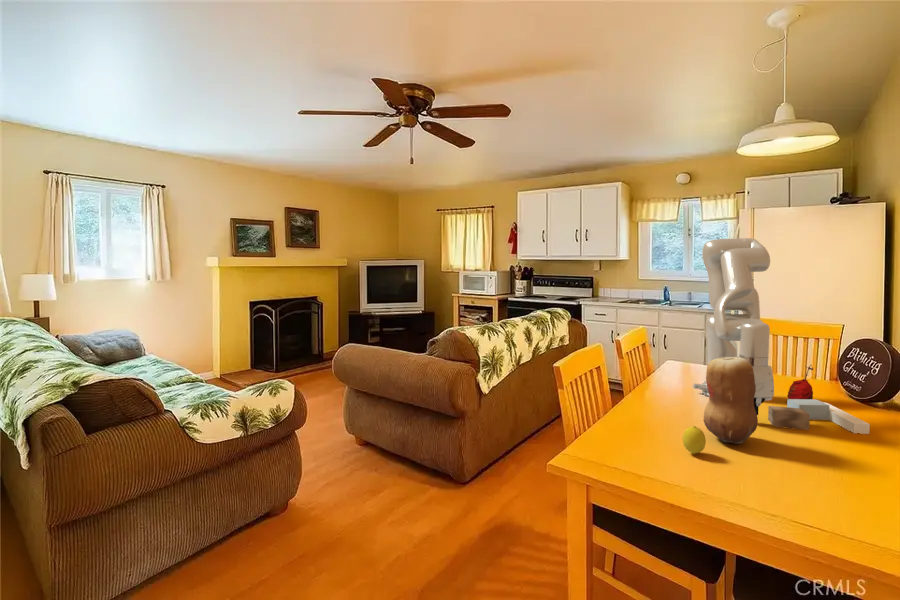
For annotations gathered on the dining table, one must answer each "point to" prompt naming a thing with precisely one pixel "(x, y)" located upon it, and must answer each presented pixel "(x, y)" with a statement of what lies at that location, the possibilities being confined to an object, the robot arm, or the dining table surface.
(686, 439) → the lemon
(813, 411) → the slate block
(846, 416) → the stop rail
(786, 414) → the walnut block
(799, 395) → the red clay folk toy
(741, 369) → the butternut squash
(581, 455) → the dining table surface
